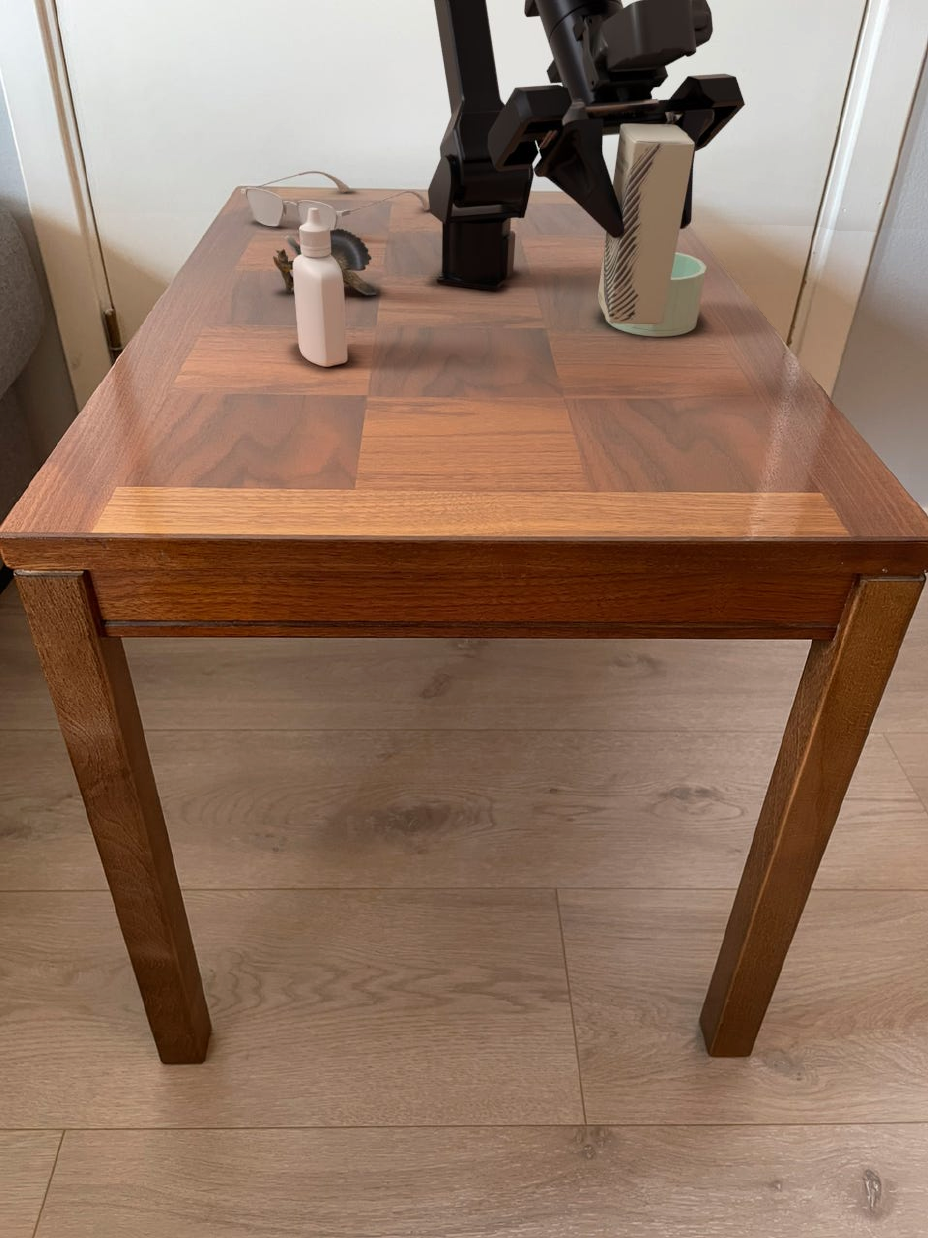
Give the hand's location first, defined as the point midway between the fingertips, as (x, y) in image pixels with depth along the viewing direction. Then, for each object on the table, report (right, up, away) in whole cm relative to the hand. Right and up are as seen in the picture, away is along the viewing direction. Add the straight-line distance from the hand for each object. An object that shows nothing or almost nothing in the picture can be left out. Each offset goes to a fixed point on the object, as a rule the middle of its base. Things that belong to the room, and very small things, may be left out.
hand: (652, 230), depth 70 cm
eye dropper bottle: (-26, -5, +14) cm, 30 cm away
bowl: (+4, +1, +22) cm, 23 cm away
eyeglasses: (-28, +21, +48) cm, 59 cm away
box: (-1, -4, +5) cm, 7 cm away
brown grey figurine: (-27, +4, +26) cm, 38 cm away
